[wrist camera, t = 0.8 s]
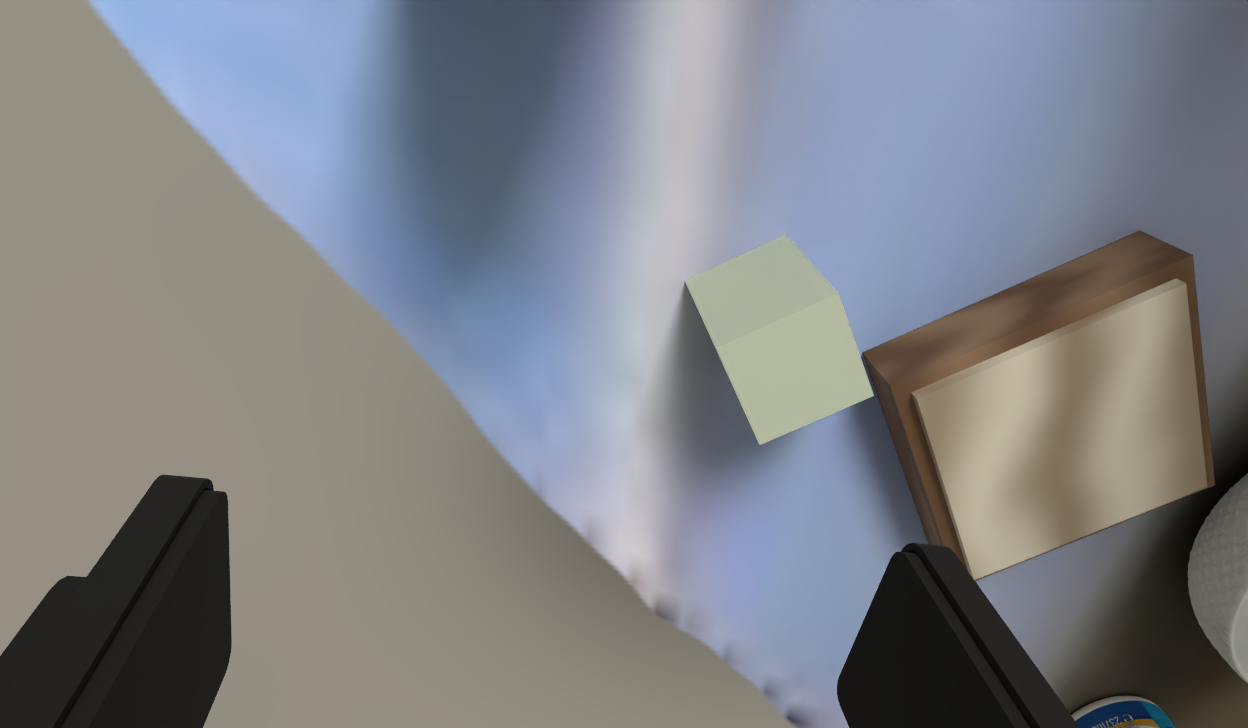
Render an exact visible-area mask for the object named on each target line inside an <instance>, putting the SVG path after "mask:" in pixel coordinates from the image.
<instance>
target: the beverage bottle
mask: <svg viewBox="0 0 1248 728" xmlns="http://www.w3.org/2000/svg"><path fill="white" fill-rule="evenodd" d="M1071 716H1072V717H1073V719H1074V720H1075V721H1076V723H1077V724H1078V726H1079V727H1080V728H1175V726H1174V725H1173V723H1172V722H1171V720H1170V719H1169V718H1168V717H1167V715H1166V714H1165V713H1164V712H1163V711H1162V709H1161V708H1160V707H1159V706H1157V705H1156V704H1155V703H1153V702H1151V701H1150V700H1147V699H1145V698H1142V697H1137V696H1114V697H1109V698H1105V699H1101V700H1098V701H1095V702H1093V703H1090V704H1088V705H1086V706H1084V707H1082V708H1081V709H1079V710H1077V711H1076V712H1074V713H1073V714H1072V715H1071Z"/></svg>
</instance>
